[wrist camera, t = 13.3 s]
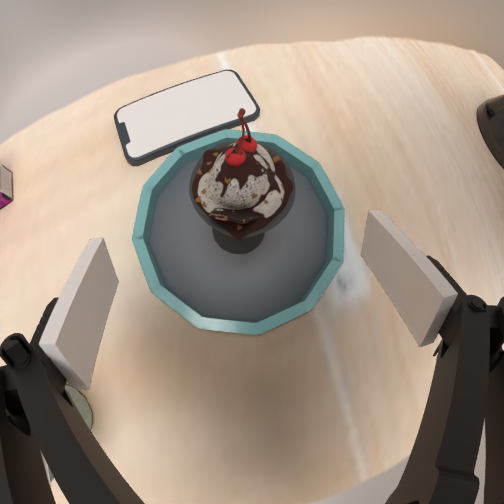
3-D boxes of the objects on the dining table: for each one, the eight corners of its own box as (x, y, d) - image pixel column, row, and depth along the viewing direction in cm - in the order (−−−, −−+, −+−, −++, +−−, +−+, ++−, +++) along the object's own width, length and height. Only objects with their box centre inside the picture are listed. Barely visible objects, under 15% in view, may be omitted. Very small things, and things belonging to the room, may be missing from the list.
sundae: (241, 182, 29) (251, 74, 14) (288, 232, 28) (341, 154, 14) (188, 223, 28) (150, 137, 13) (235, 278, 27) (239, 238, 13)
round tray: (283, 125, 32) (287, 110, 29) (363, 279, 29) (376, 275, 26) (122, 187, 29) (112, 175, 26) (188, 361, 27) (183, 366, 24)
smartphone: (233, 74, 34) (115, 117, 31) (233, 66, 32) (111, 109, 30) (263, 121, 33) (131, 172, 30) (264, 113, 31) (127, 165, 29)
